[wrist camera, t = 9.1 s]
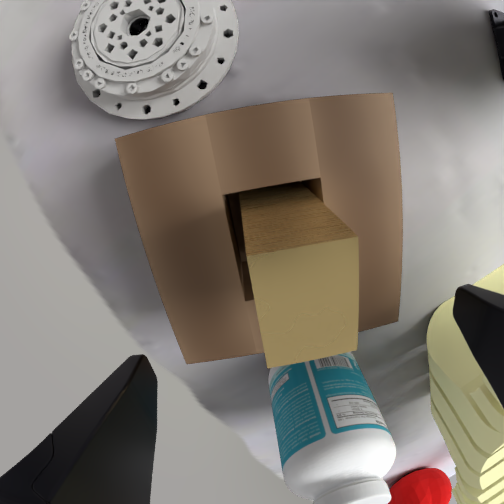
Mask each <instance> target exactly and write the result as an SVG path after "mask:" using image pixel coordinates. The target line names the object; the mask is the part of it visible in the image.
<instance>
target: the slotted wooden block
mask: <svg viewBox="0 0 504 504" xmlns="http://www.w3.org/2000/svg"><path fill="white" fill-rule="evenodd" d="M115 142H116V146H117V150H118V155H119V159H120V163H121V167H122V171H123V175H124V179H125V183H126V187H127V190H128V194H129V198H130V201H131V205H132V209H133V212H134V216H135V219H136V222H137V226H138V229H139V232H140V236H141V239H142V242H143V245H144V249H145V252H146V255H147V258H148V261H149V264H150V267H151V270H152V273H153V276H154V279H155V282H156V285H157V288H158V291H159V293H160V296H161V299H162V302H163V305H164V307H165V310H166V313H167V316H168V318H169V321H170V323H171V326H172V329H173V331H174V334H175V336H176V339H177V342H178V344H179V347H180V349H181V352H182V354H183V356H184V359H185V361H186V364H193V363H200V362H208V361H215V360H222V359H228V358H235V357H241V356H247V355H253V354H258V353H264V348H263V342H262V337H261V332H260V326H259V321H258V316H257V310H256V305H255V300H254V294H253V289H252V284H251V278H250V273H249V267H248V262H247V257H246V248H245V240H244V231H243V222H242V214H241V205H240V196H239V192H240V191H245V190H250V189H256V188H261V187H267V186H272V185H278V184H284V183H290V182H296V181H300V182H301V183H302V184H303V185H304V186H305V187H306V188H308V189H309V190H310V191H311V192H312V193H313V194H314V195H315V196H316V197H317V198H318V199H320V200H321V201H322V202H323V203H324V204H325V205H326V206H327V207H328V208H329V209H330V210H331V211H332V212H333V213H334V214H335V215H337V216H338V217H339V218H340V219H341V220H342V221H343V222H344V223H345V224H346V225H347V226H348V227H349V228H350V229H351V230H352V231H353V232H354V233H355V234H356V235H357V236H358V243H359V318H358V332H360V331H364V330H368V329H372V328H376V327H379V326H383V325H387V324H390V323H394V322H397V321H398V317H399V306H400V292H401V274H402V242H403V215H402V183H401V166H400V152H399V141H398V131H397V122H396V114H395V106H394V99H393V93H372V94H352V95H337V96H325V97H314V98H305V99H296V100H288V101H281V102H274V103H267V104H260V105H254V106H248V107H242V108H237V109H231V110H226V111H221V112H216V113H211V114H207V115H202V116H197V117H193V118H189V119H184V120H180V121H176V122H172V123H168V124H164V125H161V126H157V127H153V128H150V129H146V130H143V131H139V132H136V133H132V134H129V135H126V136H122V137H119V138H116V139H115Z"/></svg>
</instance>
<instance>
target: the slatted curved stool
mask: <svg viewBox="0 0 504 504" xmlns="http://www.w3.org/2000/svg"><path fill="white" fill-rule="evenodd" d="M473 285H474V286H477V287H480V288H484V289H487V290H490V291H493V292H497V293H500V294H503V295H504V264H503V265H502V266H500V267H499V268H497V269H496V270H494V271H493V272H491V273H490V274H488V275H487V276H485V277H484V278H482V279H481V280H479V281H478V282H476V283H475V284H473ZM454 299H455V296H454V297H452V298H450V299H449V300H447V301H445V302H444V303H442V304H441V305H440V306H439V307H438V309H437V310H436V311H435V312H434V314H433V316H432V318H431V320H430V323H429V326H428V331H427V351H428V362H429V376H430V392H431V412H432V415H433V418H434V420H435V422H436V424H437V426H438V428H439V430H440V432H441V434H442V436H443V438H444V440H445V443H446V445H447V447H448V450H449V452H450V455H451V457H452V459H453V461H454V463H455V465H456V467H455V471H456V478H457V483H456V486H455V488H453V489H452V492H453V495H454V497H455V499H456V501H457V504H504V409H503V407H502V405H501V403H500V401H499V399H498V398H497V396H496V394H495V392H494V390H493V389H492V387H491V385H490V383H489V382H488V380H487V378H486V377H485V375H484V373H483V371H482V370H481V368H480V366H479V365H478V363H477V362H476V360H475V358H474V356H473V354H472V353H471V351H470V349H469V347H468V345H467V343H466V341H465V339H464V337H463V335H462V333H461V331H460V329H459V327H458V325H457V323H456V321H455V319H454V317H453V305H454Z"/></svg>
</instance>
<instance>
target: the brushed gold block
mask: <svg viewBox="0 0 504 504" xmlns="http://www.w3.org/2000/svg"><path fill="white" fill-rule="evenodd" d="M239 196H240V205H241V214H242V222H243V231H244V240H245V248H246V257H247V262H248V267H249V273H250V278H251V284H252V289H253V294H254V300H255V305H256V310H257V316H258V321H259V326H260V332H261V337H262V342H263V348H264V353H265V358H266V364H267V368H273V367H279V366H285V365H290V364H295V363H301V362H306V361H310V360H315V359H320V358H325V357H329V356H334V355H338V354H342V353H347V352H351V351H355V350H357V344H358V318H359V243H358V236H357V235H356V234H355V233H354V232H353V231H352V230H351V229H350V228H349V227H348V226H347V225H346V224H345V223H344V222H343V221H342V220H341V219H340V218H339V217H338V216H337V215H335V214H334V213H333V212H332V211H331V210H330V209H329V208H328V207H327V206H326V205H325V204H324V203H323V202H322V201H321V200H320V199H318V198H317V197H316V196H315V195H314V194H313V193H312V192H311V191H310V190H309V189H308V188H306V187H305V186H304V185H303V184H302V183H301V182H300V181H296V182H290V183H284V184H278V185H272V186H267V187H261V188H256V189H250V190H245V191H240V192H239Z"/></svg>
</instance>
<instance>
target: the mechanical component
mask: <svg viewBox="0 0 504 504" xmlns="http://www.w3.org/2000/svg"><path fill="white" fill-rule="evenodd" d="M145 18H146V19H148V20H150V21H149V23H148V26H145V27H143V28H144V30H143V31H142V32H141V33H140V30H141V28H142V27H141V26H140V25H139V24H138V22H140V21H141V20H143V19H145ZM133 28H134V29H135V30H138V31H139V32H138V33H137V35H135V36H131V34H130V33H129V32H130V31H131V30H132V29H133ZM143 28H142V29H143ZM227 34H230V35H233V36H232V37H229V38H227V37H225V35H227ZM238 36H239V31H238V18H237V15H236V12H235V9H234V6H233V3H232V2H231V0H87V1H85V2H83V3H82V4H81V11H80V13H79V15H78V17H77V19H76V21H75V24H74V28H73V31H72V32H71V34H70V35H69V39H70V40H72V64H73V68H74V72H75V76H76V80H77V83H78V84H79V86H80V87H81V89H82V90H83V92H84V93H85V95H86V96H87V97H88V99H89V100H90V101H91V102H93V103H94V104H96V105H97V106H99V107H100V108H102V109H103V110H105V111H106V112H107V113H109V114H113V115H117V116H121V117H124V118H128V119H154V118H163V117H166V116H170V115H173V114H176V113H179V112H183V111H186V110H188V109H189V108H190V107H192V106H193V105H195V104H196V103H198V102H199V101H201V100H202V99H204V98H205V97H207V96H208V95H209V94H210V93H211V92H212V91H213V90H214V89H215V88H216V87H217V86H218V85H219V84H220V83H221V81H222V80H223V78H224V77H225V75H226V74H227V72H228V71H229V69H230V67H231V64H232V62H233V59H234V56H235V54H236V51H237V45H238ZM219 61H224V63H223V64H219V63H218V62H219ZM201 83H208V84H207V86H206V89H201V90H200V89H199V86H200V84H201ZM99 93H101V95H100V96H99ZM176 100H179V101H180V103H179V104H178V105H177V106H176ZM121 106H122V107H121ZM148 106H150V107H151V112H150V113H148V114H147V111H146V109H147V107H148Z"/></svg>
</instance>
